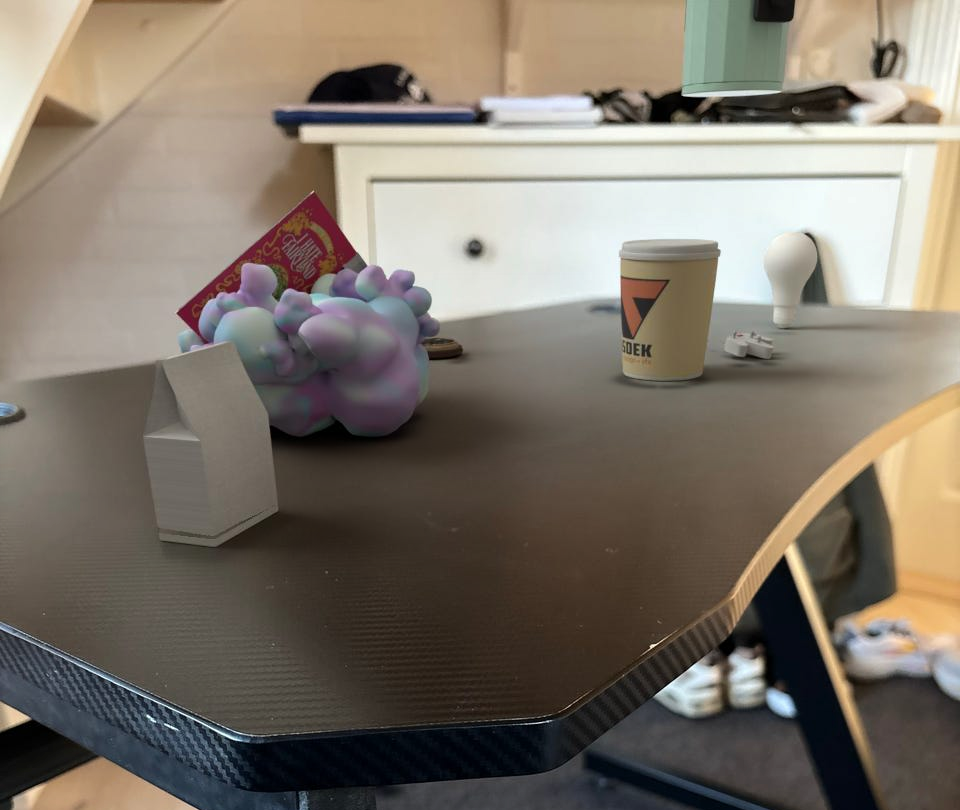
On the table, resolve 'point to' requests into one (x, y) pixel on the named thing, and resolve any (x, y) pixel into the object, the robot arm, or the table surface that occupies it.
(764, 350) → the game controller
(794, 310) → the lightbulb
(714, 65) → the glass
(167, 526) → the milk carton
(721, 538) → the table surface
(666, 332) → the coffee cup
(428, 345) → the compass
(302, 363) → the pastel lumpy blob
